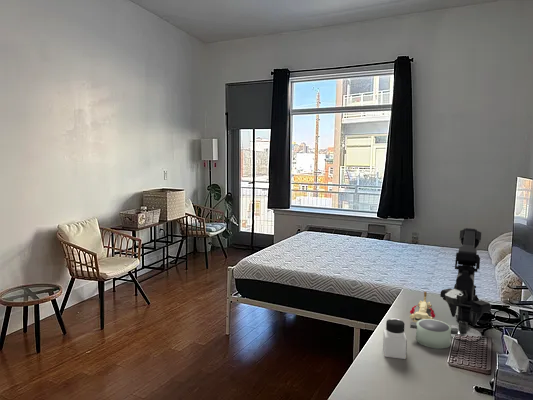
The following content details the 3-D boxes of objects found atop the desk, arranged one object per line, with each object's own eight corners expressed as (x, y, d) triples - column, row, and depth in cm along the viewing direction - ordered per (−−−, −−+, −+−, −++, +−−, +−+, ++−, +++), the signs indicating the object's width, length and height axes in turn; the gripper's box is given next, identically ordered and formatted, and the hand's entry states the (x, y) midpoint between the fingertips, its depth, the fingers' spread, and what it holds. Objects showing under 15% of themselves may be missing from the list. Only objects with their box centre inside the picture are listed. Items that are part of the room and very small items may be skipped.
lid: (443, 325, 163) (444, 313, 163) (478, 330, 159) (479, 318, 158) (445, 338, 151) (445, 326, 151) (483, 344, 146) (484, 331, 146)
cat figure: (413, 307, 184) (407, 324, 162) (414, 289, 184) (408, 303, 161) (436, 311, 180) (433, 328, 158) (437, 292, 180) (434, 307, 157)
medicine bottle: (406, 359, 135) (407, 325, 134) (384, 357, 137) (385, 324, 135) (403, 349, 142) (404, 317, 141) (382, 347, 144) (383, 315, 142)
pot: (410, 330, 157) (410, 316, 156) (455, 337, 151) (456, 322, 150) (409, 344, 146) (410, 328, 145) (458, 352, 140) (459, 335, 139)
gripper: (431, 278, 158) (429, 315, 160) (472, 293, 141) (469, 334, 143) (451, 274, 162) (449, 311, 164) (493, 288, 145) (490, 329, 147)
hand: (463, 321), depth 154 cm, fingers open, 9 cm apart
